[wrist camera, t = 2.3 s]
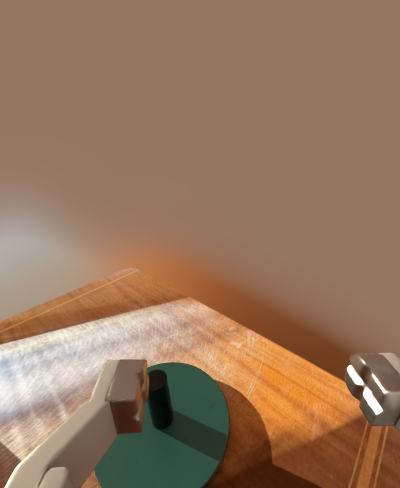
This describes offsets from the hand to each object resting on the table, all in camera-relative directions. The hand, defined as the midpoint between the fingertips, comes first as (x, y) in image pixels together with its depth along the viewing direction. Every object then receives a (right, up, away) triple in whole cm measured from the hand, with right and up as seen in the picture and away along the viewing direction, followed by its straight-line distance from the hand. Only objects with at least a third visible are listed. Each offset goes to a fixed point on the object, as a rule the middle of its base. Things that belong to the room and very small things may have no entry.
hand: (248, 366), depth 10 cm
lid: (-6, -15, +17) cm, 23 cm away
